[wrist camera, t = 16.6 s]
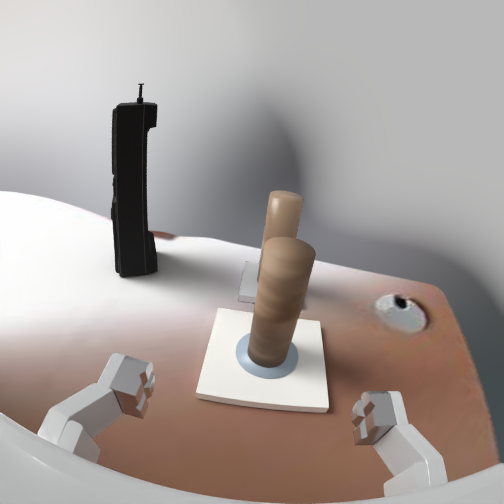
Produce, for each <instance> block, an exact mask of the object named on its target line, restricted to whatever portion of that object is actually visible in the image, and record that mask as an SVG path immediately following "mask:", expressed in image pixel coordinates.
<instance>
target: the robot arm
mask: <svg viewBox="0 0 504 504" xmlns="http://www.w3.org/2000/svg"><path fill="white" fill-rule="evenodd" d="M152 369H153V365H152V362H148V361H144V360H140V359H137V358H133V357H130V356H127V355H124V354H120V353H117V352H114V353H113V354H112V355H111V357H110V359H109V361H108V363H107V365H106V367H105V369H104V371H103V373H102V375H101V377H100V379H99V381H98V383H97V384H95V383H93V384H91V385H90V386H88V387H86V388H85V389H83V390H81V391H79V392H78V393H76V394H74V395H73V396H71V397H69V398H67V399H66V400H64V401H62V402H61V403H59V404H57V405H55V406H54V407H52V408H50V409H49V411H48V413H47V415H46V417H45V419H44V421H43V423H42V425H41V427H40V429H39V431H38V433H37V435H36V434H34V433H33V432H31V431H29V430H27V429H26V428H24V427H23V426H21V425H19V424H18V423H16V422H15V421H13V420H11V419H10V418H8V417H7V416H5V415H4V414H2V413H1V412H0V504H283V503H264V502H251V501H241V500H233V499H225V498H218V497H212V496H206V495H201V494H196V493H191V492H186V491H181V490H177V489H173V488H169V487H165V486H161V485H157V484H154V483H150V482H147V481H143V480H140V479H137V478H134V477H131V476H128V475H125V474H122V473H119V472H116V471H114V470H111V469H108V468H106V467H103V466H101V465H98V464H97V461H98V458H99V455H100V452H101V450H100V448H99V447H98V446H97V444H96V443H95V442H94V441H93V438H94V437H95V436H97V435H98V434H99V433H101V432H102V431H103V430H104V429H106V428H107V427H108V426H109V425H111V424H112V423H113V422H115V421H116V420H117V419H118V418H120V417H121V416H122V415H123V413H124V414H128V415H131V416H135V417H138V418H142V419H143V418H144V416H145V413H146V410H147V407H148V403H147V399H148V398H149V397H151V396H152V393H153V390H154V385H155V376H154V374H153V373H152ZM352 423H353V424H354V425H355V426H356V428H355V430H354V431H353V434H354V443H355V445H373V447H374V448H375V450H376V451H377V453H378V454H379V456H380V457H381V458H382V460H383V461H384V463H385V464H386V466H387V467H388V468H389V470H390V471H391V473H392V474H393V476H394V477H393V478H391V479H390V480H388V481H386V482H385V483H384V495H385V497H382V498H375V499H368V500H359V501H350V502H337V503H318V504H504V463H500V464H497V465H494V466H492V467H489V468H487V469H485V470H482V471H479V472H477V473H474V474H471V475H469V476H466V477H463V478H460V479H457V480H454V481H451V482H448V480H447V475H446V470H445V466H444V461H443V457H442V456H441V455H440V454H439V453H438V452H437V451H436V449H435V448H434V447H433V446H432V445H431V444H430V443H429V442H428V441H427V440H426V439H425V438H424V437H423V436H422V435H421V434H420V433H419V432H418V431H417V429H416V428H415V427H414V426H413V425H412V424H408V420H407V416H406V412H405V408H404V404H403V400H402V396H401V393H400V392H399V391H366V392H364V393H363V394H362V395H361V400H359V401H357V402H356V403H355V405H354V406H353V410H352Z"/></svg>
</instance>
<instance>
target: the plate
mask: <svg viewBox="0 0 504 504" xmlns="http://www.w3.org/2000/svg"><path fill="white" fill-rule="evenodd" d="M252 319H253V313H250V312H244V311H237V310H230V309H224V308H218V311H217V315H216V318H215V322H214V326H213V330H212V333H211V337H210V341H209V345H208V348H207V352H206V356H205V360H204V363H203V367H202V371H201V375H200V379H199V383H198V387H197V390H196V398H199V399H204V400H209V401H215V402H221V403H227V404H234V405H241V406H248V407H256V408H265V409H275V410H286V411H299V412H318V413H326V412H327V410H328V408H329V402H328V391H327V381H326V371H325V362H324V353H323V344H322V336H321V328H320V321H312V320H304V319H298V321H297V324H296V328H295V331H294V334H293V338H292V341H291V344H290V348H289V351H288V354H287V357H286V360H285V361H284V363H283V364H281V365H279V366H277V367H274V368H265V367H261V366H258V365H256V364H255V363H253V362H252V361H251V360H250V358H249V356H248V353H247V349H248V343H249V337H250V331H251V325H252Z"/></svg>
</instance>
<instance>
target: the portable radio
mask: <svg viewBox="0 0 504 504" xmlns="http://www.w3.org/2000/svg"><path fill="white" fill-rule="evenodd" d="M139 85H140V88H139V98H137V102H135V103H121V104H119V105H117V107H116V108H115V109H113V115H112V116H113V117H112V174H113V175H114V178H113V191H114V195H113V201H112V208H111V219H112V220H113V234H114V250H115V270H116V272H117V273H120V276H121V277H126V276H138V275H146V274H150V273H153V272H156V271H158V270H157V254H156V248H155V241H154V235H153V233H152V232H150V231H148V221H147V174H146V173H147V132H148V131H149V129H150V128H153V127H156V122H157V104H155V103H149V102H143V98H142V85H144V84H139Z"/></svg>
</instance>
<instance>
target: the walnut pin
mask: <svg viewBox="0 0 504 504" xmlns="http://www.w3.org/2000/svg"><path fill="white" fill-rule="evenodd" d="M315 255H316V253H315V250H314V249H313V248H312V247H311V246H310V245H309V244H307V243H306V242H304V241H301V240H299V239H295V238H291V237H274V238H271V239H269V240H267V241H266V242H265V245H264V251H263V257H262V263H261V270H260V276H259V282H258V288H257V295H256V301H255V307H254V313H253V319H252V325H251V331H250V337H249V343H248V349H247V353H248V356H249V358H250V360H251V361H252V362H253V363H255V364H256V365H258V366H261V367H265V368H274V367H277V366H279V365H281V364H283V363H284V361H285V360H286V357H287V354H288V351H289V348H290V344H291V341H292V338H293V334H294V331H295V328H296V324H297V321H298V318H299V314H300V311H301V307H302V304H303V300H304V297H305V293H306V289H307V286H308V282H309V278H310V275H311V271H312V267H313V263H314V259H315Z"/></svg>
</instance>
